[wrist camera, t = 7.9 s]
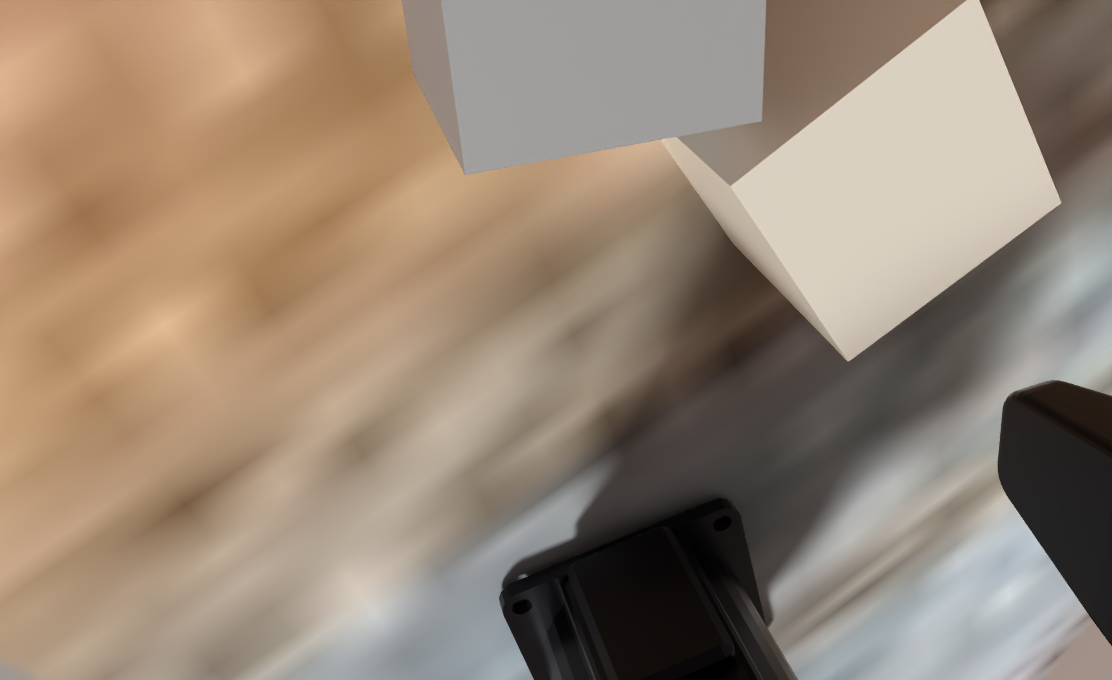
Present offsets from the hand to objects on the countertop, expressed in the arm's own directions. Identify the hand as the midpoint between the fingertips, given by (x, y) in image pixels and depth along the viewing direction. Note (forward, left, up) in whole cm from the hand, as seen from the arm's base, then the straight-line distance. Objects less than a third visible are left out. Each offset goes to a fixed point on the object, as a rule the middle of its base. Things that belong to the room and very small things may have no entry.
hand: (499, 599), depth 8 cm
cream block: (-3, -8, -12) cm, 15 cm away
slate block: (+2, -4, -12) cm, 13 cm away
